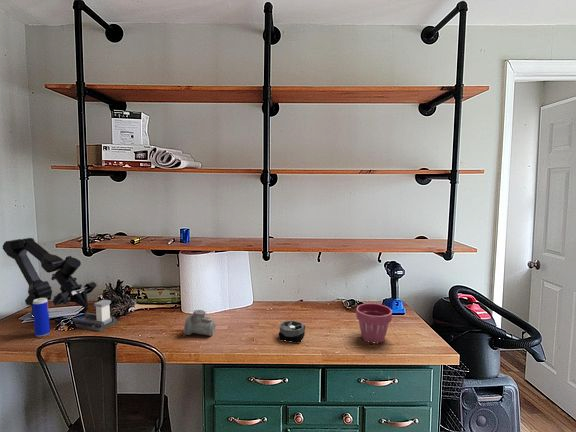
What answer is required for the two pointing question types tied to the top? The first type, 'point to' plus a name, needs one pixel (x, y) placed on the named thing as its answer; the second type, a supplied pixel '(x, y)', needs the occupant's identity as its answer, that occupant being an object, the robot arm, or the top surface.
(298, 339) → the cpu cooler
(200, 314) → the pipe fitting
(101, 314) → the fader tab
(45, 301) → the beverage can
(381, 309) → the plant pot
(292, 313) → the top surface
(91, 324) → the fader track
